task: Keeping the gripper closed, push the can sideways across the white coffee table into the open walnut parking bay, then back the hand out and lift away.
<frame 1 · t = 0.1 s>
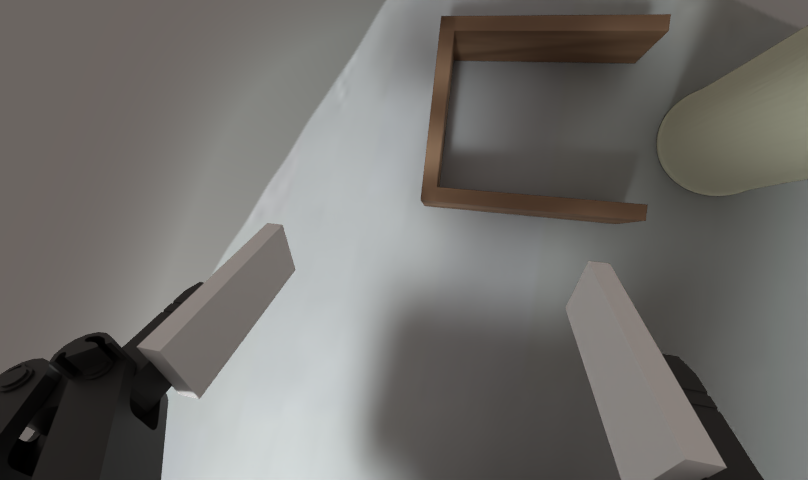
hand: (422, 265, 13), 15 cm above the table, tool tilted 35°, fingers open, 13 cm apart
can: (714, 142, 25), on the table
bay: (530, 132, 27), on the table
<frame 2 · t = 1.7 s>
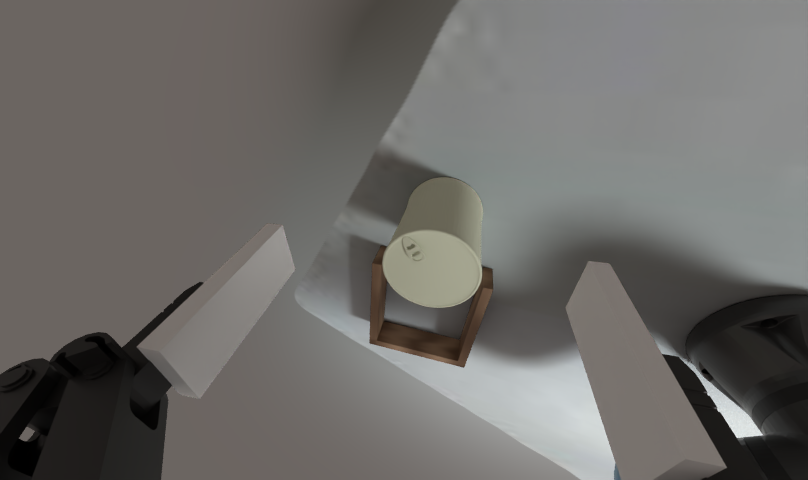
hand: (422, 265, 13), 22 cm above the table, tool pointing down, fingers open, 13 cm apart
can: (444, 211, 36), on the table
bay: (427, 297, 44), on the table
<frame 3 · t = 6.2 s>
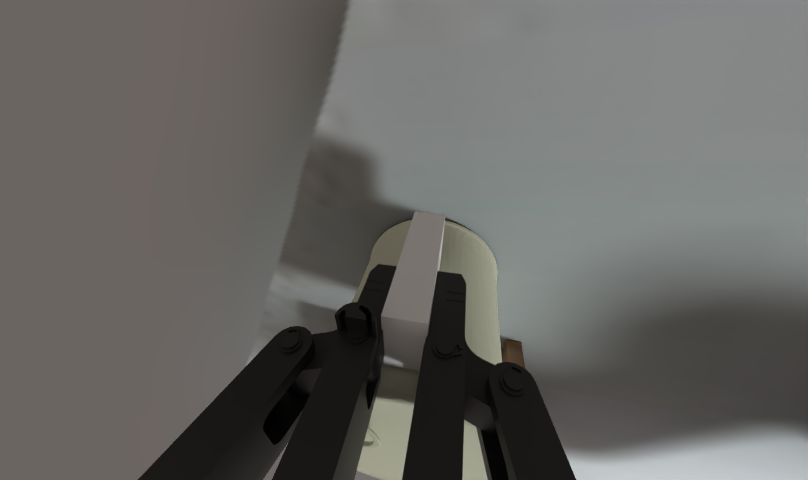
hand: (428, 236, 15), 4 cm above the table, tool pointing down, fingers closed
can: (431, 269, 22), on the table, touching gripper
bay: (424, 377, 30), on the table
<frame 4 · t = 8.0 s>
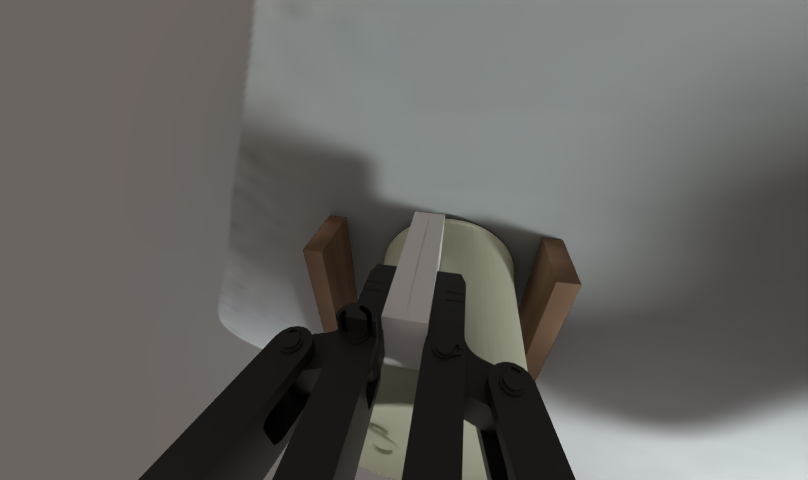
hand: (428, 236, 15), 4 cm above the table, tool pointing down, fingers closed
can: (446, 269, 21), on the table, touching gripper
bay: (432, 308, 24), on the table
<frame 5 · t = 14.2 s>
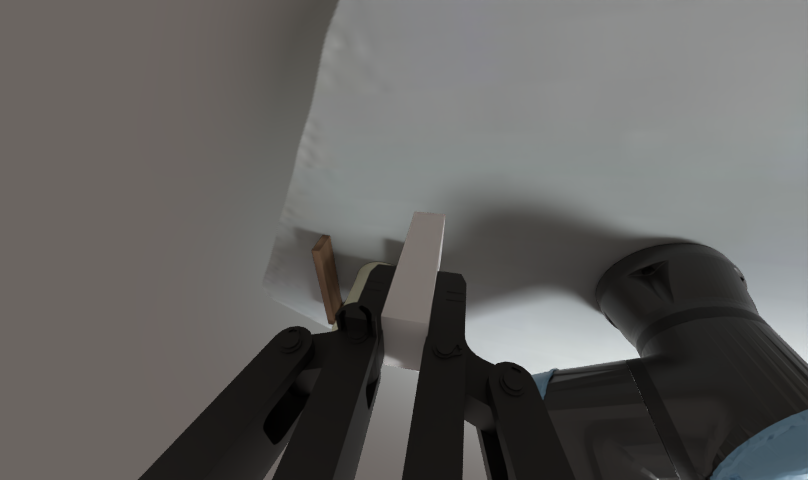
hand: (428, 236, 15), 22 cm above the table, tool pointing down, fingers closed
can: (383, 281, 50), on the table
bay: (372, 278, 50), on the table
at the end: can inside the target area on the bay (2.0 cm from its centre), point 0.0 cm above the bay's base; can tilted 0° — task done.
